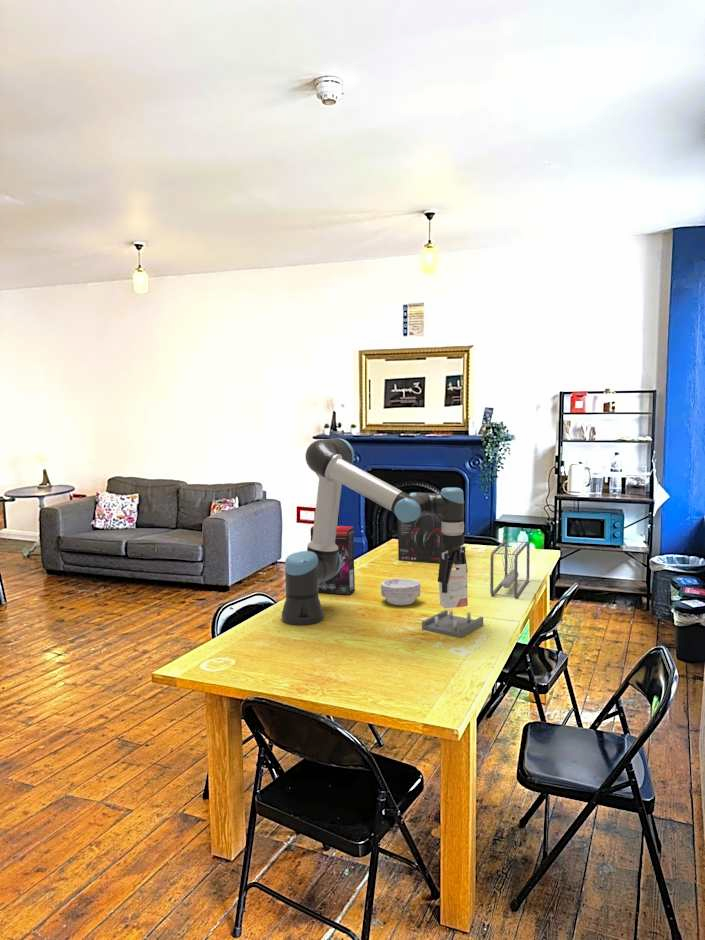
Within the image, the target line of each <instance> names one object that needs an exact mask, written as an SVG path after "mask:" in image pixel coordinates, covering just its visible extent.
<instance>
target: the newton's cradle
mask: <svg viewBox="0 0 705 940" xmlns="http://www.w3.org/2000/svg"><path fill="white" fill-rule="evenodd" d="M510 543H519V544H517V547H516V548H515V549H514V550H513V551H512V552H511V548H510ZM530 544H531V543H530V541H529V540H527V541H518V540H517V541H515V540H507V539H504V540H502V542H501V543H500V544H499V545H498V546H496V548H494V549H493V550H492V552H491V554H490V574H489V575H490V578H489V579H490V584H489V585H490V591H489V593H490V595H491V596H492V597H493V596H503V597H504V596H505V597H514V598H515V599H518V598H519V597H520V595H521V593H522V592H523V590H524V589H525V588H526V586H527V585H528V583H529V581H530V557H531V556H530V549H531V547H530ZM524 549H526V579H525V580H524V579H518V577H519V571H518V557H519V555H520V554H521V553H522V552H523V551H524ZM502 552H503V553H502ZM495 554H496V555H503V557H504V559H503V557H501V558H502V559H501V560H502V561H504V562H502V564H503V566H504V568H503V571H504V577H503V579H502V580H501V582H500V583H499V584H498V585H497V586H496V587H495V588H494V556H495ZM508 557H511V558H510V559H508ZM508 560H509V561H508ZM509 563H511V564H509ZM508 564H509V565H508ZM509 566H510V567H509ZM518 581H519V582H524V583H523V584H522V586H521V587H520V588H519V590H518ZM513 584H514V585H513ZM512 586H513V587H514V589H513V595H510V594H499V593H497V592H498V591H499V590H500V589H501V587H503V588H505V589H509V588H511V587H512Z"/></svg>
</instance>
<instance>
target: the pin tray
mask: <svg viewBox="0 0 705 940" xmlns="http://www.w3.org/2000/svg"><path fill="white" fill-rule="evenodd" d="M448 609H449V610H447V609H445V610H442V611H440V612H438V613H436V614H433V615H432V616H430V617H428V618H426V619H424V620H422V621H421V630H424V631H429V632H434V633H438V634H443V635H447V636H452V637H456V638H461V639H462V638H463V637H465V636H467V635H469V634H470V633H472V632H473V631H475V630H477V629H478V628H480V627H482V626H484V617H483V616H480V617H478V618H475V619H474V618H471V617H472V616H471V614H472V613H471V612H467V613H466V616H467V617H464V616H458V615H454V613H453V612H454V611H453V609H452V608H448ZM448 612H449V614H448Z"/></svg>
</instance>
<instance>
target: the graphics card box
mask: <svg viewBox="0 0 705 940" xmlns="http://www.w3.org/2000/svg"><path fill="white" fill-rule="evenodd" d="M354 528H355V527H354V526H353V525H352V526H346V525H344V526H343V525H337V530H336V539H335V544H336V545H337V546H338V553H339V555H340V556H341V562H342V563H341V568H340V570H339V572H338V573H337V574H336V575H335V576H334V577H333V578H331V579H329V580H327V581H324V582H322V583H320V584H318V593H321V594H322V593H323V594H337V595H348V596H349V595H351V594H353V593H354V592H355V591H356V588H355V587H356V585H355V580H356V579H355V578H356V577H355V549H354V548H355V547H354V543H355V541H354V538H355V537H354V535H355V534H354ZM313 529H314V525H313V526H311V527H310V542H311V541H312V538H313Z"/></svg>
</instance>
